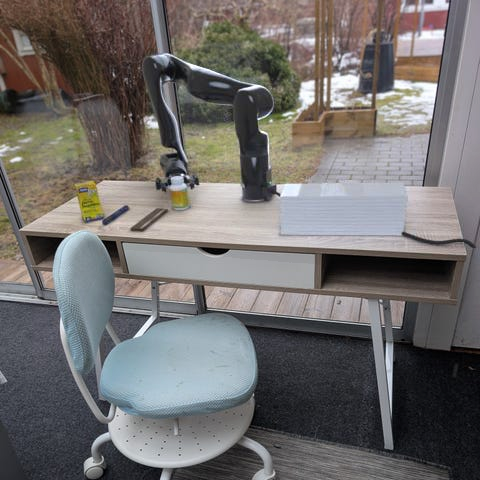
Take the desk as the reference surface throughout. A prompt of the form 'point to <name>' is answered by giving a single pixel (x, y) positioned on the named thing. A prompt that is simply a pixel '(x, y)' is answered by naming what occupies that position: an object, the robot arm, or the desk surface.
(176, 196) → the supplement bottle
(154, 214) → the dark brown flat bar
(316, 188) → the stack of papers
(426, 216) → the desk surface
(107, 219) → the pen
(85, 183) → the supplement box
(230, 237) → the desk surface
